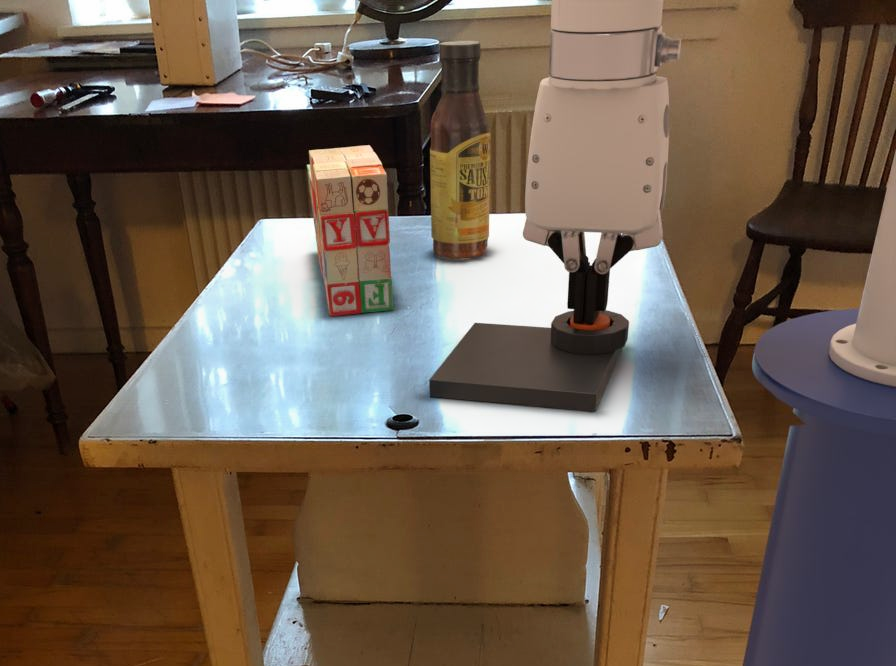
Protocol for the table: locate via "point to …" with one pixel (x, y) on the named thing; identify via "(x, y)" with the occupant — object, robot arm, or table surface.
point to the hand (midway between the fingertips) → (586, 318)
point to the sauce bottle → (460, 157)
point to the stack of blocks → (351, 228)
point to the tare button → (599, 323)
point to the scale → (533, 364)
